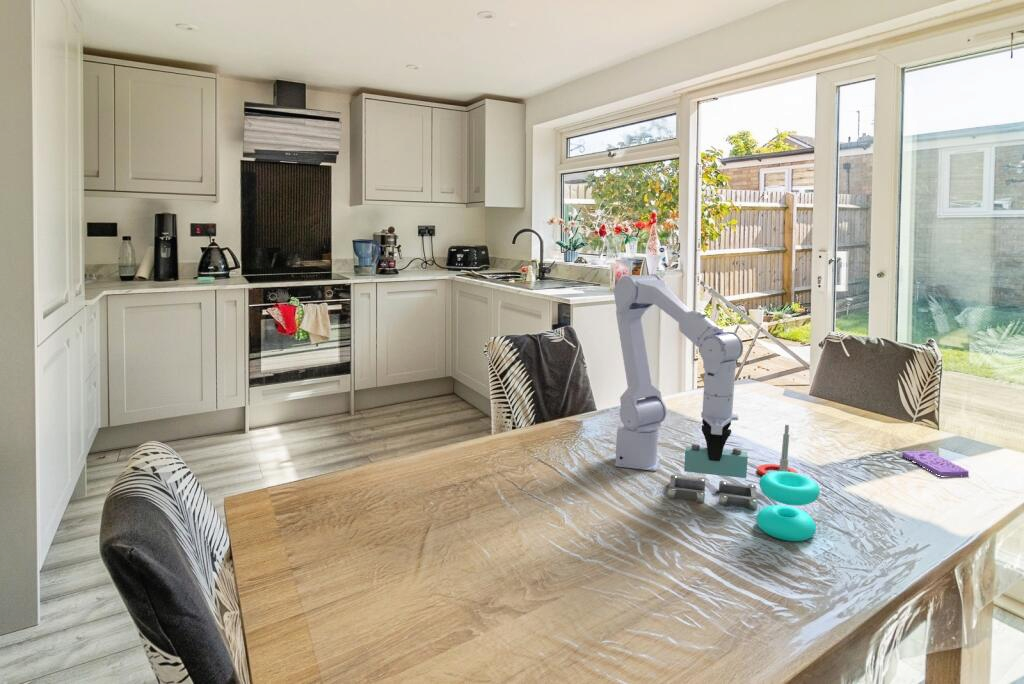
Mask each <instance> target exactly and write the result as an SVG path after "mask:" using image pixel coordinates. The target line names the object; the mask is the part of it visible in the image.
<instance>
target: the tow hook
mask: <svg viewBox="0 0 1024 684" xmlns="http://www.w3.org/2000/svg"><path fill="white" fill-rule="evenodd" d="M789 429H790V425H789V424H785V425H784V432H783V435H782V444H781V445H782V447H781V458H780V460H779V461H780V462H779V464H773V463H766V464H760V465H758V467H757V471H756V472H757V473H758V474H759V475H760V476H761V477H762V476H763V475H765V474H767V473H769V472H770V471H768V470H776V471H786V472H793V473H797V474H799V473H798V471H797V470H795V468H792V467H789V458H788V456H789V455H788V454H789V445H790V444H789V443H790V434H789V431H790V430H789Z"/></svg>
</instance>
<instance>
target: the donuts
mask: <svg viewBox="0 0 1024 684" xmlns="http://www.w3.org/2000/svg"><path fill="white" fill-rule="evenodd" d="M768 472H769V473H767V474H765V475H763V476H762V475H761V478H760V480H759V482H758V483H759V489H760V490H761V492H762V493H763V494H764V496H765V497H768V498H769V499H770V500H772V501H775V502H777V503H780V504H771V505H768V506H765V507H763V508H761V509H760V510H759V511H758V512H757V515H756V523H757V526H758V527H759V528H760V529H761V530H762V532H764V533H765V534H767V535H769V536H771V537H773V538H776V539H779V540H783V541H789V542H802V541H806V540H809V539H811V538H812V537H813V536H814V535H815V533H816V532H817V531H816V530H817V526H816V522H815V520H814V519H813V517H811V516H810V514H808V513H806V512H805V511H803V510H801V509H799V508H797V507H794V506H806V505H809V504H811V503H815V501H816V500H818V498H819V497H820V487H819V484H817V482H815V480H813V479H812V478H810V477H808V476H806V475H803V474H801V473H798V474H797V473H793V472H786V471H777V470H776V471H768ZM783 504H784V505H783Z"/></svg>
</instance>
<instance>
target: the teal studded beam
mask: <svg viewBox="0 0 1024 684" xmlns="http://www.w3.org/2000/svg"><path fill="white" fill-rule="evenodd" d="M748 458H749V457H748V452H747V451H744V450H742V449H741V448H739V447H735V448H733V449H724V448H723V452H722V456H721V459H720V461H710V460H709V458H708V452H707V447H701V445H700V444H697V443H693V444H691V445H685V449H684V467H683V468H684V469H683V472H687V473H693V474H694V473H695V474H703V475H704V474H705V475H712V476H713V475H714V476H720V477H721V476H722V477H732V478H740V479H747V474H748V473H747V471H748Z"/></svg>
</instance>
